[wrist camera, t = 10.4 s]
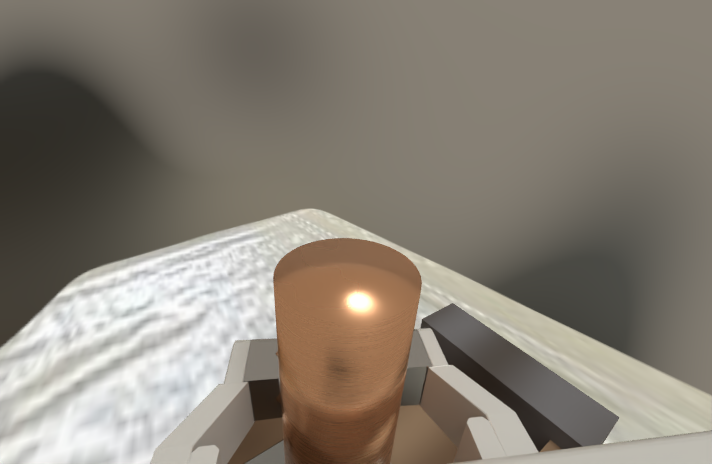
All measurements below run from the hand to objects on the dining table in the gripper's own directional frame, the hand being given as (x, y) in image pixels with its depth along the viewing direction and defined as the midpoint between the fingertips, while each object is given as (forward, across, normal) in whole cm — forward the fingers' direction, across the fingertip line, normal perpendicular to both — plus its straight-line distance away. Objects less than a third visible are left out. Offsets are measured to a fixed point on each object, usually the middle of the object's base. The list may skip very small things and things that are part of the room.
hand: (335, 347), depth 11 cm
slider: (-2, 0, -9) cm, 9 cm away
